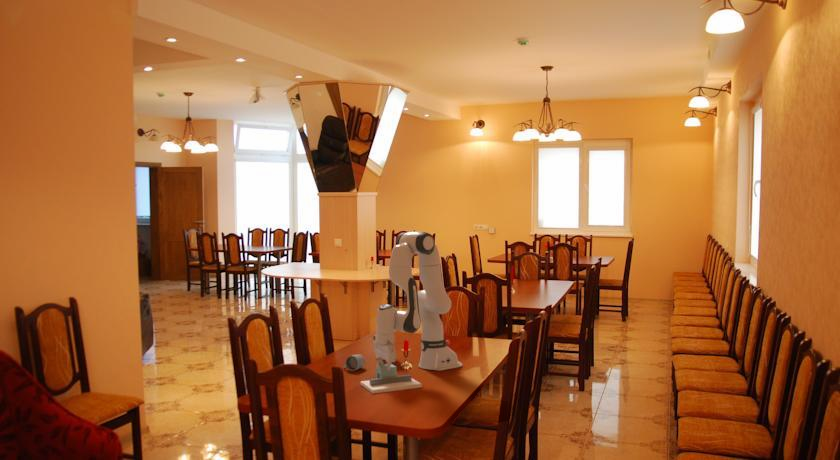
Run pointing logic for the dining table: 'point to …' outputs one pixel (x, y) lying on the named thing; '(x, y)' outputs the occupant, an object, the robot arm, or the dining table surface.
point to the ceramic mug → (354, 362)
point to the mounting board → (390, 386)
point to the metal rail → (390, 380)
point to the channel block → (385, 371)
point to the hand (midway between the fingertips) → (384, 367)
